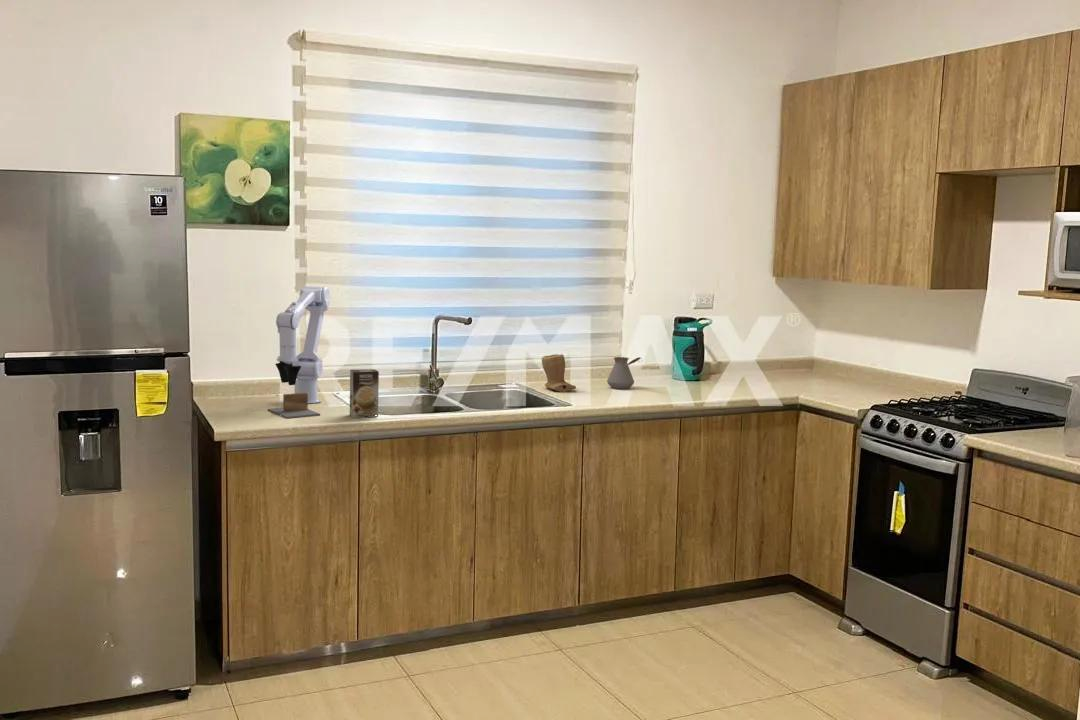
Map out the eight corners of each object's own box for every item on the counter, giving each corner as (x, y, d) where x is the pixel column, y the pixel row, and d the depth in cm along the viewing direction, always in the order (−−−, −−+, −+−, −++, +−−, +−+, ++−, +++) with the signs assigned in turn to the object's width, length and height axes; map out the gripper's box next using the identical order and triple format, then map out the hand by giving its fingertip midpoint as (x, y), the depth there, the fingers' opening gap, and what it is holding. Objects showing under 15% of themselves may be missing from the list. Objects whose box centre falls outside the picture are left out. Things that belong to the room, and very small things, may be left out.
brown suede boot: (537, 387, 422) (538, 352, 420) (563, 386, 426) (564, 351, 424) (549, 393, 408) (550, 356, 406) (576, 392, 411) (577, 356, 409)
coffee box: (352, 417, 347) (352, 372, 345) (349, 414, 353) (349, 369, 351) (379, 416, 350) (378, 371, 348) (375, 413, 356) (375, 368, 354)
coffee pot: (601, 386, 428) (602, 351, 426) (625, 385, 433) (626, 350, 431) (627, 394, 409) (628, 358, 407) (651, 392, 413) (652, 356, 412)
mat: (267, 410, 358) (267, 408, 358) (299, 407, 365) (299, 405, 365) (287, 418, 343) (287, 416, 343) (320, 415, 350) (320, 413, 350)
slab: (283, 410, 354) (283, 394, 353) (304, 408, 359) (304, 392, 358) (286, 412, 352) (286, 395, 351) (307, 410, 357) (307, 393, 356)
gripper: (269, 344, 361) (270, 381, 363) (284, 348, 349) (285, 387, 351) (288, 343, 365) (288, 380, 367) (304, 347, 353) (304, 385, 355)
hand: (288, 383), depth 359 cm, fingers open, 6 cm apart
